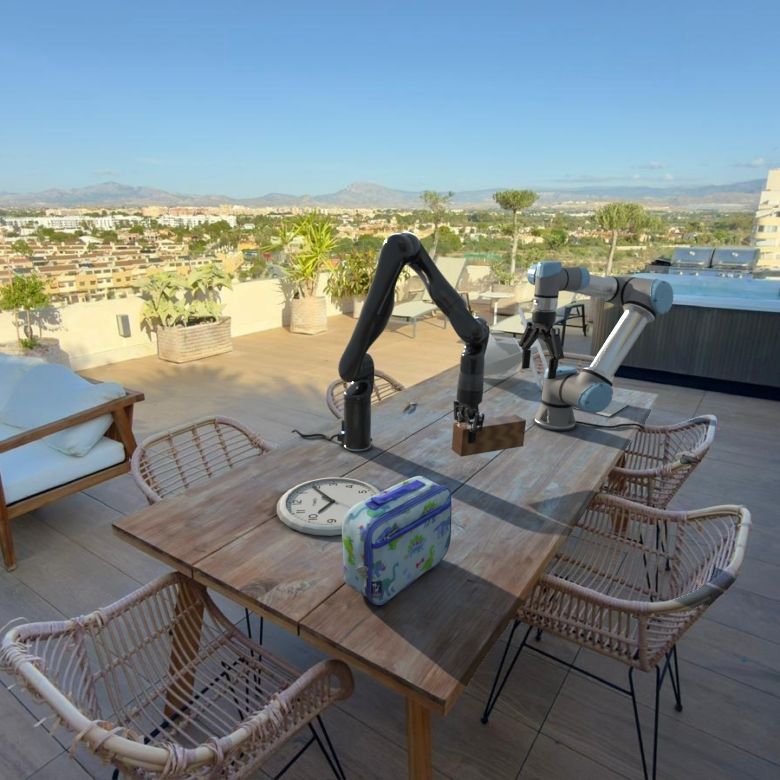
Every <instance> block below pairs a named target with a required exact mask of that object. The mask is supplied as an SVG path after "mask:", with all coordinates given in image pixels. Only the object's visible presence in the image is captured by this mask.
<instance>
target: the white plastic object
mask: <svg viewBox="0 0 780 780" xmlns="http://www.w3.org/2000/svg"><path fill="white" fill-rule="evenodd" d="M517 310H518V314H519V316H520V319H521V322H522V325H523V328H524V330H525V329H526V325H527V322H528V321H527V319H526V316H525V313H524V311H523V309H522V307H520V306H519V307H517ZM530 348H531V349H528V350H531V356H530V366H529V367H530V369H531V372H532V375H533V378H534V381H535V384H536V385H537V386H538V388H539V389H540V391H542V390H543V384H542V382H541V380H540V376H539V374H538V370H537V367H536V365H535V361H534V358H533V355H534V354H536V353H538V355H539V357H540V360H541V363H542V367H543V369H544V371H545V370H546V369H547V368H549V364H548V363H547V359H546V357H545V353H544V350H543V348H542V345H541V342H540V340H539V338H537V340H536V341H535V342H534V343H533V345H532V346H531V347H530ZM522 352H523V350H522V347H519V342H518V341H517V338H516V337H510V338H506V339H502V340H496V339H495V338H494V336H493V335H492V334H491V333H489V340H488V345H487V349H486V353H485V363H484V377H488V376H489V377H490V376H497V375H498V376H499V377H501V376H504V375H506V374H509V371H510V370H511V369H513V368H514V367H516V366H517V365H519V363H522Z"/></svg>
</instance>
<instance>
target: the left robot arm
mask: <svg viewBox="0 0 780 780" xmlns="http://www.w3.org/2000/svg"><path fill="white" fill-rule="evenodd" d="M405 266H408V267H409V268H410V269H411V270H413V271H414V272H415V274H416V275H417V276H418V277H419V278H420V280H421V281H422V283H423V285H424V287H425V290H426V291H427V292H426V293H427V294H428V296H429V298H430V300H431V301H432V303H433V304H434V305H435V306H436V307H437V308H438V310H439V311H440V312H441V313H442V314H443V315H444V316H445V317H446V319H447V320H448V321H449V324H450V325H451V327H452V328H453V330H454V332H455V334H456V335H457V336H458V338H459V339H460V340H461V341H462V342H463V343H464V348H463V350H462V352H461V354H460V358H459V359H460V360H459V371H458V375H457V376H458V378H457V387H456V400H454V401H453V419H454V421H456V423H459V422H466V423H467V424H468V427H469V434H468V443H469V444H472V443H475V441H476V432H481V431H482V426H483V422H484V419H485V417H486V416H485V413H481V412H480V410H479V408H480V407H479V405H480V404H481V403H483V395H484V384H485V376H484V363H485V353H486V349H487V345H488V340H489V334H491V332H490V330H491V329H490V324H489V322H488V321H487V320H486V319H485V318H484V317H481V316H474V315H473V314H472V313H471V312H470V309H468V303H467V301H466V300H465V298H463V296H462V295H461V294H460V293H459V291H457V290H456V288H454V286H452V284H451V283H450V282H449V281H448V280H447V278H446V277H445V275H443V273H442V271H441V270H440V269H439V268H438V267H437V265H436V263H435V262H434V260H433V259H432V257H431V256H430V254H429V253H428V251H427V249H426V248H425V246H424V245H423V243H422V242H421V240H420V239H419V238H418V236H417V235H415V234H414V233H412V232H408V231H403V232H397V233H393V234H390V235H389V236H388V237H386V238H385V240H384V242H383V243H382V245H381V250H380V252H379V257H378V260H377V265H376V269H375V273H374V275H373V278H372V281H371V283H370V286H369V288H368V292H367V294H366V297H365V299H364V302H363V304H362V306H361V309H360V312H359V316H358V319H357V321H356V324H355V325H354V328H353V331H352V334H351V337H350V338H349V341H348V343H347V345H346V346H345V349H344V350H343V353H342V355H341V357H340V358H339V362H338V364H337V365H338V367H337V371H338V376H339V378H340V379H341V381H343V382H345V383H347V384H349V383H350V384H349V386H347V388H346V389H345V390H344V392H343V419H342V420H341V421H340V422H341V423H340V424H341V431H339V432H338V433H336V434H333V435H332V436H331V437H328V436H327V435H325V434H323V433H312V434H303V433H301V432H300V431H299V430H298V429H293V430H292V431H291V433H296V434H298V435H299V436H300V437H303V438H311V437H323V438H324V439H325V440H327V441H332V440H334V438H337V439H336V440H337V442H341V447H342V448H344V449H345V450H346V451H349V452H356V453H357V452H366V451H368V450H370V449H371V448H372V442H373V438H372V395H373V392H374V388H375V362H374V359H373V357H372V355H371V354H370V353H369V352H368V351H369V349H370V348H371V347H372V346H373V344H374V343H375V342H376V341H377V340H378V339H379V338H380V336H382V334H383V333H384V331H385V330H386V328H387V326H388V325H389V322H390V320H391V318H392V315H393V312H394V308H395V303H396V302H395V301H396V300H395V297H396V296H395V293H396V286H397V283H398V281H399V278H400V276H401V273H402V272H403V270H404V268H405ZM473 420H474V421H473ZM472 424H473V428H472ZM478 426H479V427H478Z"/></svg>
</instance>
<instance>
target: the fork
mask: <svg viewBox="0 0 780 780" xmlns="http://www.w3.org/2000/svg"><path fill="white" fill-rule="evenodd" d="M418 398H419V397H418V396H413V397H412V398H411V400H410V402H409V404H408V405H407V406H406V407H405V409H404V410H403V412H405V411H407V410H408V409H410V408H411V406H412V405H416V404H417V402H418Z"/></svg>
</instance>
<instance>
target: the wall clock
mask: <svg viewBox="0 0 780 780" xmlns="http://www.w3.org/2000/svg"><path fill="white" fill-rule="evenodd" d="M380 492H382V491H381V490H380V489H379V488H377V487H376V486H374V485H372V484H371V483H369V482H365V481H362V480H359V479H355V478H349V477H338V476H337V477H335V476H333V477H332V476H331V477H322V478H317V479H312V480H307V481H305V482H302V483H299V484H297V485H295V486H293V487H292V488H290V489H288V490H287V491H286V492H285V493H284V494H283V495H281V496H280V498H279V499H278V502H277V503H276V515H277V517H278V518H279V520H280V521H281V522H282V523H283V524H285V525H286V526H287V527H288V528H290V529H293V530H295V531H297V532H299V533H303V534H308V535H312V536H327V537H328V536H329V537H331V536H332V537H333V536H342V525H343V521H344V518H345V516H346V514H347V512H348V511H349V510H350V509H351V508H352V507H353V506H354V505H356V504H358V503H360V502H362V501H364V500H366V499H368V498H370V497H372V496H374V495H376V494H378V493H380Z"/></svg>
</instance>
